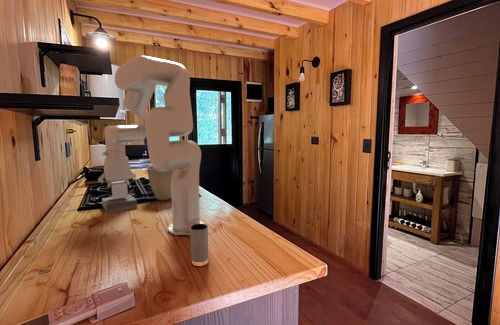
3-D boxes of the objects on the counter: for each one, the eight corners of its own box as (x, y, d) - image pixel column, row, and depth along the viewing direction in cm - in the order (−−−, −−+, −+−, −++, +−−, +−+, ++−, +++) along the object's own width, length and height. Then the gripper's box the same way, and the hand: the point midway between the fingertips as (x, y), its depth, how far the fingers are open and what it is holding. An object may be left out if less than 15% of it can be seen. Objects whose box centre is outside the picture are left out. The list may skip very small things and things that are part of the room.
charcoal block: (137, 208, 120) (136, 199, 120) (107, 214, 113) (106, 204, 113) (130, 202, 130) (130, 194, 129) (102, 206, 123) (101, 198, 122)
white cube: (127, 196, 120) (127, 183, 119) (113, 198, 117) (112, 184, 116) (124, 193, 125) (123, 180, 124) (110, 195, 121) (109, 182, 120)
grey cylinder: (192, 268, 71) (191, 230, 69) (190, 259, 75) (189, 224, 73) (209, 265, 72) (208, 228, 70) (207, 257, 76) (206, 222, 75)
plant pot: (147, 196, 139) (145, 165, 137) (176, 192, 146) (175, 163, 143) (149, 203, 126) (147, 170, 124) (182, 200, 132) (180, 168, 130)
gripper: (94, 156, 110) (98, 199, 112) (139, 153, 120) (141, 193, 123) (92, 154, 116) (95, 195, 118) (134, 152, 126) (136, 189, 129)
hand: (118, 194), depth 121 cm, fingers closed on white cube, 5 cm apart
